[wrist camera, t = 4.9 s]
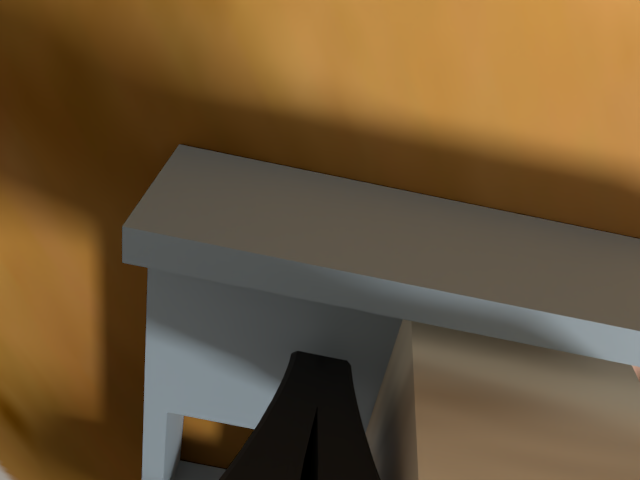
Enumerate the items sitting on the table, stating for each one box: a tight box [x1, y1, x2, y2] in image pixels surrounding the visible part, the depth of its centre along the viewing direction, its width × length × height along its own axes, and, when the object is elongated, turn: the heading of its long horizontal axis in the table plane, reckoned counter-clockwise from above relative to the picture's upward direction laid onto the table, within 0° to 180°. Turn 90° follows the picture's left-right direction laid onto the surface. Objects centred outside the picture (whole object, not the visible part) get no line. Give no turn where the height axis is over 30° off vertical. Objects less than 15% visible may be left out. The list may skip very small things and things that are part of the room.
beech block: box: [365, 319, 640, 480], centre depth 12 cm, size 4×4×4 cm
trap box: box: [122, 144, 640, 480], centre depth 16 cm, size 12×13×4 cm
